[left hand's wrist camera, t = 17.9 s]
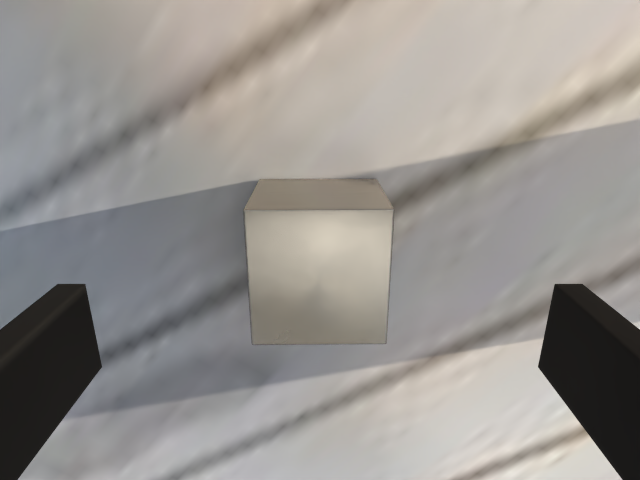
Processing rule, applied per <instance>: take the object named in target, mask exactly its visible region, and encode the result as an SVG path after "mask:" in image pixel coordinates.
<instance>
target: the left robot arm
mask: <svg viewBox="0 0 640 480" xmlns="http://www.w3.org/2000/svg"><path fill="white" fill-rule="evenodd" d="M101 367H102V365H101V360H100V355H99V350H98V345H97V340H96V335H95V330H94V325H93V320H92V315H91V310H90V305H89V300H88V295H87V291H86V286H85V284H57V285H56V286H55V287H53V288H52V289H51V290H50V291H48V292H47V293H46V294H45V295H43V296H42V297H41V298H40V299H38V300H37V301H36V302H35V303H33V304H32V305H31V306H30V307H28V308H27V309H26V310H25V311H23V312H22V313H21V314H19V315H18V316H17V317H16V318H14V319H13V320H12V321H11V322H9V323H8V324H7V325H6V326H4V327H3V328H2V329H1V330H0V480H18V478H19V477H20V476H21V474H22V473H23V472H24V470H25V469H26V468H27V466H28V465H29V464H30V462H31V461H32V460H33V458H34V457H35V456H36V454H37V453H38V452H39V450H40V449H41V448H42V446H43V445H44V443H45V442H46V441H47V439H48V438H49V437H50V435H51V434H52V433H53V431H54V430H55V429H56V427H57V426H58V425H59V423H60V422H61V421H62V419H63V418H64V417H65V415H66V414H67V413H68V411H69V410H70V409H71V407H72V406H73V405H74V403H75V402H76V401H77V399H78V398H79V397H80V395H81V394H82V393H83V391H84V390H85V389H86V387H87V386H88V385H89V383H90V382H91V381H92V379H93V378H94V377H95V375H96V374H97V373H98V371H99V370H100V369H101ZM538 367H539V369H540V370H541V371H542V373H543V374H544V375H545V377H546V378H547V379H548V381H549V382H550V383H551V385H552V386H553V387H554V389H555V390H556V391H557V393H558V394H559V395H560V397H561V398H562V399H563V401H564V402H565V403H566V405H567V406H568V407H569V409H570V410H571V411H572V413H573V414H574V415H575V417H576V418H577V419H578V421H579V422H580V423H581V425H582V426H583V427H584V429H585V430H586V431H587V433H588V434H589V435H590V437H591V438H592V439H593V441H594V442H595V443H596V445H597V446H598V448H599V449H600V450H601V452H602V453H603V454H604V456H605V457H606V458H607V460H608V461H609V462H610V464H611V465H612V466H613V468H614V469H615V470H616V472H617V473H618V474H619V476H620V477H621V478H622V480H640V330H639V329H638V328H637V327H636V326H634V325H633V324H632V323H631V322H629V321H628V320H627V319H626V318H624V317H623V316H622V315H621V314H619V313H618V312H617V311H615V310H614V309H613V308H612V307H610V306H609V305H608V304H607V303H605V302H604V301H603V300H602V299H600V298H599V297H598V296H597V295H595V294H594V293H593V292H592V291H590V290H589V289H588V288H587V287H585V286H584V285H583V284H555V286H554V291H553V295H552V300H551V305H550V310H549V315H548V320H547V325H546V330H545V335H544V340H543V345H542V350H541V355H540V360H539V365H538Z"/></svg>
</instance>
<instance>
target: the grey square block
mask: <svg viewBox="0 0 640 480" xmlns="http://www.w3.org/2000/svg"><path fill="white" fill-rule="evenodd" d="M243 216H244V232H245V247H246V263H247V278H248V294H249V309H250V324H251V340H252V345H303V344H386V343H387V326H388V309H389V293H390V276H391V259H392V242H393V225H394V208H393V207H392V205H391V203H390V201H389V200H388V198H387V196H386V194H385V193H384V191H383V189H382V187H381V186H380V184H379V182H378V180H377V179H260V180H259V181H258V183H257V185H256V187H255V189H254V191H253V193H252V195H251V196H250V198H249V200H248V202H247V204H246V206H245V208H244V210H243Z"/></svg>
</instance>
